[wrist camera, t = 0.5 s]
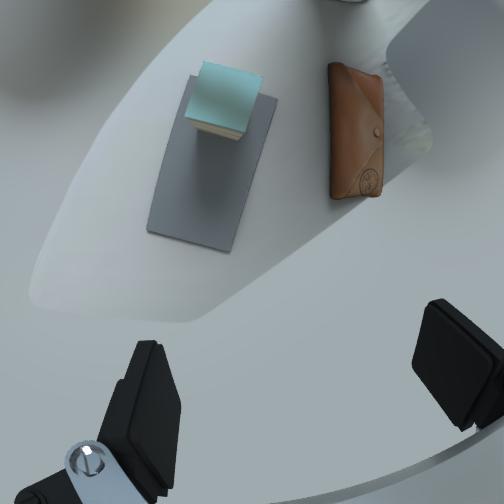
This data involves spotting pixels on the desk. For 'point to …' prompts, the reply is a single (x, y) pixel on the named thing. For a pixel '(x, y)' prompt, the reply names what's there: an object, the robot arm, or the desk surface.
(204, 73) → the wooden block
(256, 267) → the desk surface
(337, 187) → the sunglasses case
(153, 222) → the charcoal mat
